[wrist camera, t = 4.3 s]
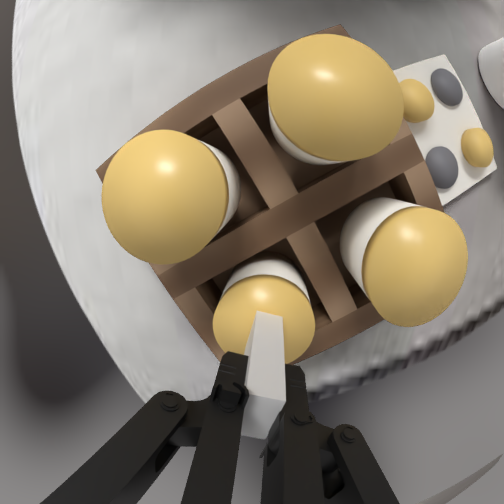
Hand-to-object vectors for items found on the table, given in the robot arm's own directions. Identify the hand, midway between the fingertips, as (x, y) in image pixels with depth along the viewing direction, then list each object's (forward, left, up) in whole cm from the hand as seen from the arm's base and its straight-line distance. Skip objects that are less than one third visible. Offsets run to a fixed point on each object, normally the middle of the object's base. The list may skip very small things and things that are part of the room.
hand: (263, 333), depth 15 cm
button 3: (-9, +9, -4) cm, 13 cm away
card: (-5, +21, -8) cm, 22 cm away
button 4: (0, +9, -4) cm, 10 cm away
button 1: (-9, 0, -4) cm, 10 cm away
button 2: (0, 0, -6) cm, 6 cm away
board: (-5, +5, -8) cm, 10 cm away
